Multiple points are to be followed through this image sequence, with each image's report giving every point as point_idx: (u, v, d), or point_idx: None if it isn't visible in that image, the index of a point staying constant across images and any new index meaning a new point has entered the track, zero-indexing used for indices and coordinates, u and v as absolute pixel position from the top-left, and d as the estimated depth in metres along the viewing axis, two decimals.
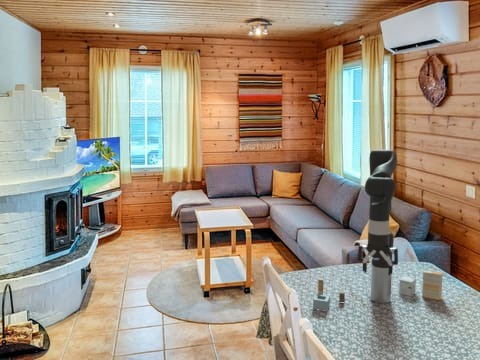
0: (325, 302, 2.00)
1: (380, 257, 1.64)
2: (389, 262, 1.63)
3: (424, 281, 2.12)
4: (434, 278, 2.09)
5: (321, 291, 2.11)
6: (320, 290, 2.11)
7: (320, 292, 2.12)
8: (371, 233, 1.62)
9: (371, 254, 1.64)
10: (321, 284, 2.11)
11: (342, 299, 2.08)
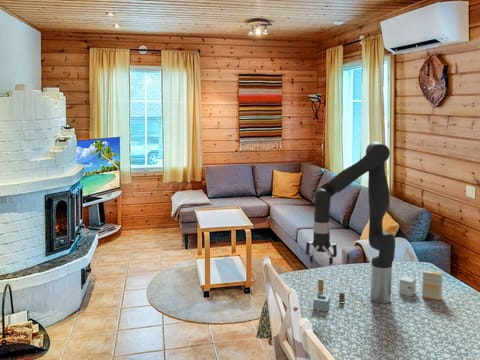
0: (325, 302, 2.00)
1: (323, 251, 2.08)
2: (329, 255, 2.07)
3: (424, 281, 2.12)
4: (434, 278, 2.09)
5: (321, 291, 2.11)
6: (320, 290, 2.11)
7: (320, 292, 2.12)
8: (315, 232, 2.06)
9: (316, 249, 2.08)
10: (321, 284, 2.11)
11: (342, 299, 2.08)
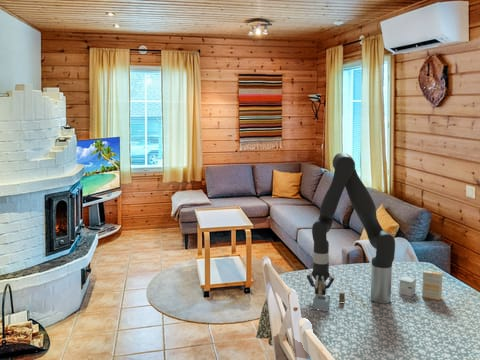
0: (325, 302, 2.00)
1: (322, 281, 2.11)
2: (323, 286, 2.10)
3: (424, 281, 2.12)
4: (434, 278, 2.09)
5: (321, 291, 2.12)
6: (320, 290, 2.11)
7: (320, 292, 2.12)
8: (314, 262, 2.09)
9: (317, 279, 2.11)
10: (321, 284, 2.11)
11: (342, 299, 2.08)
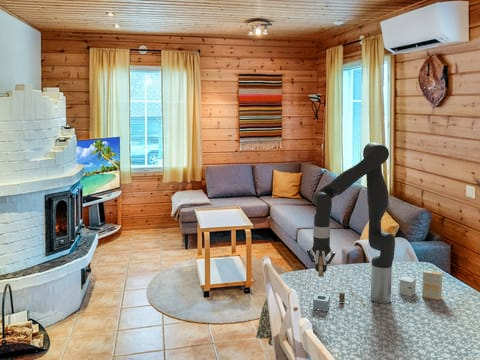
0: (325, 302, 2.00)
1: (322, 256, 2.03)
2: (324, 261, 2.03)
3: (424, 281, 2.12)
4: (434, 278, 2.09)
5: (321, 267, 2.04)
6: (320, 266, 2.04)
7: (320, 268, 2.04)
8: (315, 236, 2.01)
9: (317, 254, 2.03)
10: (321, 259, 2.03)
11: (342, 299, 2.08)
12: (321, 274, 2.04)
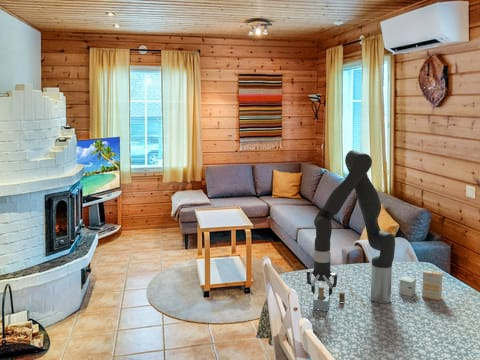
0: (325, 302, 2.00)
1: (323, 280, 2.01)
2: (329, 285, 2.00)
3: (424, 281, 2.12)
4: (434, 278, 2.09)
5: None
6: (320, 298, 2.02)
7: None
8: (315, 261, 1.99)
9: (316, 278, 2.01)
10: (321, 292, 2.02)
11: (342, 299, 2.08)
12: None
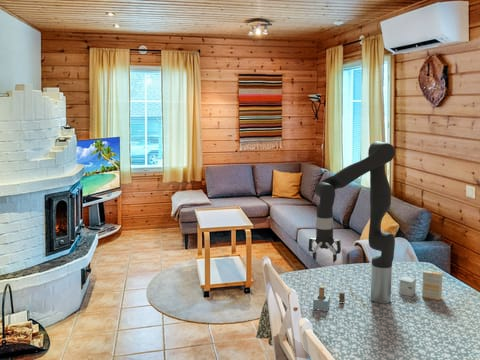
0: (325, 302, 2.00)
1: (326, 247, 2.00)
2: (333, 251, 1.99)
3: (424, 281, 2.12)
4: (434, 278, 2.09)
5: None
6: (321, 298, 2.02)
7: None
8: (318, 228, 1.98)
9: (319, 245, 2.00)
10: (322, 292, 2.02)
11: (342, 299, 2.08)
12: None
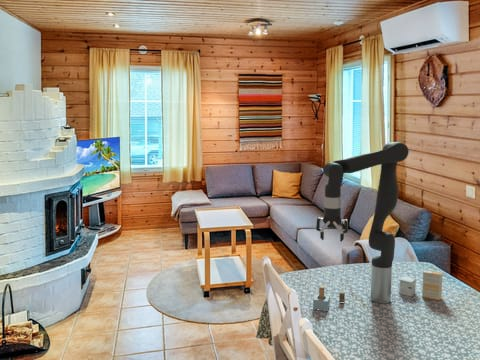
0: (325, 302, 2.00)
1: (333, 227, 2.04)
2: (340, 231, 2.03)
3: (424, 281, 2.12)
4: (434, 278, 2.09)
5: None
6: (321, 298, 2.02)
7: None
8: (326, 207, 2.02)
9: (326, 224, 2.04)
10: (322, 292, 2.02)
11: (342, 299, 2.08)
12: None
